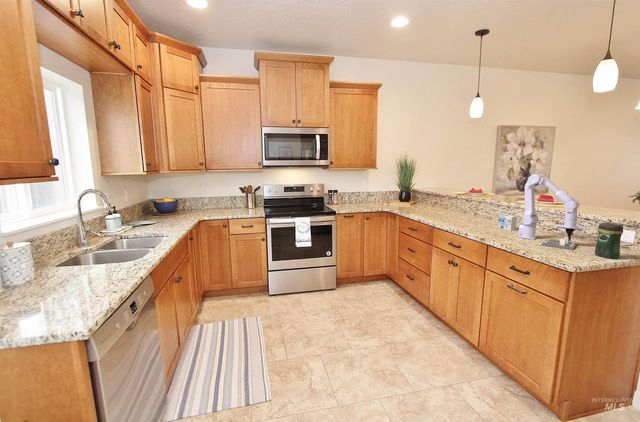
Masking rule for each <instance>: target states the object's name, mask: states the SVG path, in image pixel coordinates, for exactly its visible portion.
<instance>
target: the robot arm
mask: <svg viewBox="0 0 640 422" xmlns="http://www.w3.org/2000/svg"><path fill="white" fill-rule="evenodd" d="M540 185H541V186H545V187H546V188H547V189H549V190H550V191H551V192H553V194H554V195H555V198H556V199H557V200H558V201H559V202H560V203H562V205H563V207H564V209H565V212H564V224H555V225H554V228H555V229H563V230H565V232H566V234H567V237H568V238H569V239H568V241H569V242H572V241H571V240H572V235H573V233H574V232H575V231H583V232H584V231H586V229H587V228H586V226H577V219H578V209H579V207H580V202H579V200H577V199H575V198H574V197H572V196H571V195H569V192H568V191H565V190H561V189H560V188H559V187H558V186H557V185H556V184H554V182H552V180H551V179H550V178H549V177H547V176H546V175H545V174H544V173H540V174H535V173H534V174H531V175H530V176H528V177H527V181H526V183H525V184H524V204H525V205H524V206H525V207H524V208H525V212H524V213H523V217H522V220H521V222H522V224H520V225H519V227H518V235H517V238H522V239H526V240H527V239H529V240H535V239H537V236H536V232H537V230H536V229H537V224H538V222H539V216H538V214H537V212H536V203H535V202H536V201H535V200H536V199H535V188H537V187H538V186H540Z"/></svg>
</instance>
